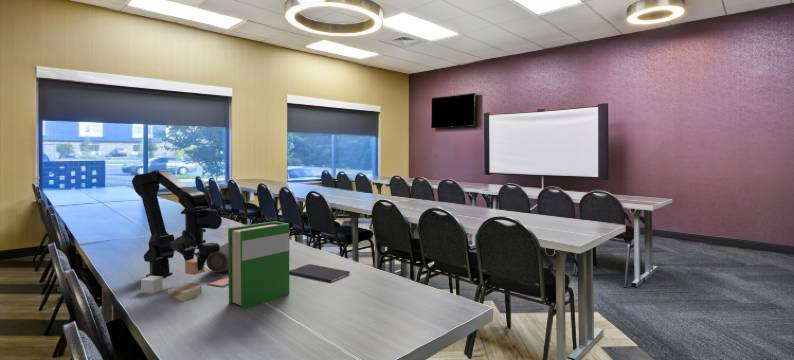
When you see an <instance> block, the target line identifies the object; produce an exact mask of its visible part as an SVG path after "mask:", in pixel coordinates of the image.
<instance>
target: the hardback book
mask: <svg viewBox="0 0 794 360" xmlns="http://www.w3.org/2000/svg"><path fill="white" fill-rule="evenodd" d="M227 230H228V231H227V235H228V238H227V240H228V241H227V243H228V268H229V270H228V280H229V285H228V305H230V306H231V305H234V304H236V305H238V306H240V310H242V311H243V310H246V309H249V308H251V307H255V306H258V305H261V304H264V303H268V302H270V301H274V300H276V299H279V298H282V297H285V296H289V295H290V274H289V271H290V223H286V222H283V221H282V222H280V221H268V222H267V221H266V222H261V223H260V222H259V223H255V224H248V225H241V226H234V227H228V228H227Z"/></svg>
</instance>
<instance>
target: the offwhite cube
mask: <svg viewBox="0 0 794 360" xmlns="http://www.w3.org/2000/svg"><path fill="white" fill-rule="evenodd" d="M163 278H164V277H163V276H149V277H147V276H145V278H141V279H140V285H141V286H140V289H141V290H140V291H141V294H142V293H143V294H155V293H157V292H160V291H162V290H163V287H164V283H163V282H164V281H163V280H164V279H163Z"/></svg>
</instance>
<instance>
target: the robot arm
mask: <svg viewBox="0 0 794 360" xmlns="http://www.w3.org/2000/svg"><path fill="white" fill-rule="evenodd" d="M131 180H132V181H131V184H132V186H133V190H134V191H135V193H136V194H137V195H138V196H139V197H140V198H141V199H142V204H143V207H144V212H145V216H146V220H147V223H148V224H147V225H148V227H149V231H150V238H149V241H148V244H147V245H148V249H147V251H146V252H145V253H144V255H143V259H144V262H147V263H149V274H146V275H145V277H149V276H163V278H164V277H168V276H171V275H173V272H170V260H169V259H173V258H174V255H175V252H176V253H179V254H180V255H182V257H183V259H184V262H185V261H187V260H190V259H194V258H195V256H196V258H197V264H198V270H199V271H200V270H202V268H203V266H204V265H205V263H206V260H207V258H208V256H209V254H210V253H214V252H217V251H220V247H221V245H220V244H219V243H217V242H207V241H206V239H204V233H205V232H207V230H206V229H209V230H217V229H219V228H220V227H221V226H222V222H223V219H222V217H221V214H219V213H218V209H213V208H212V206H211V203H210V202H209V200H208V199H207V197H206V194H205V192H202V191H200V190H199V189H196V188H192V187H189V186H187V185H185V183H183V182H182V181H180V180H179V179H178V178H176V177H175V176H174V175H172V174H171V173H170V172H169V171H168V170H167V169H155V170H152V171H150V172H146V173H138V174H135V175H134V176H133V178H132V179H131ZM160 185H161V186H163V187H164V188H166V190H168V191H169V192H171V193H172V194H173V195H175V197H177V200H178V203H179V204H180V205H181V206H182V207H183V208H184V209H183V210H182V211H181V212H180V214H181V215H185V216H184V218H185V219H184V221H185V222H184V223H185V224H184V225H185V227H184V228H185V229H184V230H182V232H181V235H180V236H177V237H176V238H175V235H174V234H173V233H172V234H170V233H168V232H167V230H166V225H165V223H164V217H163V215H162V214H163V213H162V211H161V207H160V202H159V198H158V193H159V191H160V188H161V187H160ZM196 250H197V251H198V252H196Z"/></svg>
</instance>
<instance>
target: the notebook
mask: <svg viewBox="0 0 794 360" xmlns="http://www.w3.org/2000/svg"><path fill="white" fill-rule="evenodd" d="M350 273H351V272H350V270H343V269H338V268H334V267H333V268H332V267H327V266H323V265H317V264H311V263H308V264H304V265H302V266H299V267H296V268H293V269H291V270H290V269H289V275H292V276H297V277H303V278H307V279H312V280H316V281H320V280H321V281H322V282H327V283H333V282H335V280H336V281H338V280H339V279H343V278H344V277H345V278H346V277H347V276H349V275H350ZM342 277H343V278H342ZM337 279H338V280H337Z"/></svg>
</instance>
